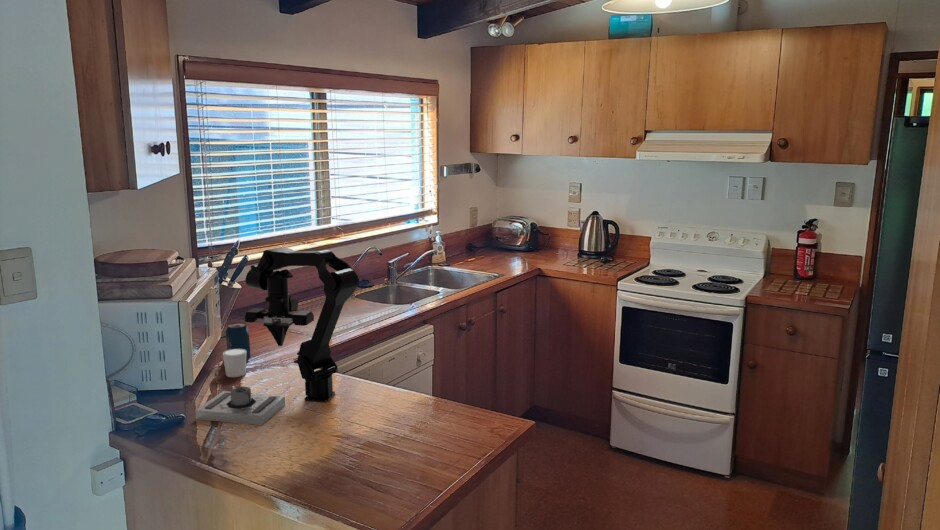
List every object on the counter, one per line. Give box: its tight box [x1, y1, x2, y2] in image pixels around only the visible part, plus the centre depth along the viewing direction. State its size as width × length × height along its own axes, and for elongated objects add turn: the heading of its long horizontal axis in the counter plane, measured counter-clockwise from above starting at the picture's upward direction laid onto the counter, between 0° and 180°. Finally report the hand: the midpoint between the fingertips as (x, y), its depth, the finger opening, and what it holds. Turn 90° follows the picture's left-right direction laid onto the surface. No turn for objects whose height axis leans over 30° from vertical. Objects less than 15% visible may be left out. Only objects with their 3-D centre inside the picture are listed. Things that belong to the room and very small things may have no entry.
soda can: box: [225, 321, 251, 363], centre depth 214 cm, size 7×7×12 cm
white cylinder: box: [222, 349, 247, 378], centre depth 203 cm, size 7×7×7 cm
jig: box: [195, 390, 286, 426], centre depth 176 cm, size 18×13×3 cm
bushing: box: [229, 386, 252, 409], centre depth 176 cm, size 5×5×6 cm
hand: (280, 345), depth 193 cm, fingers closed
